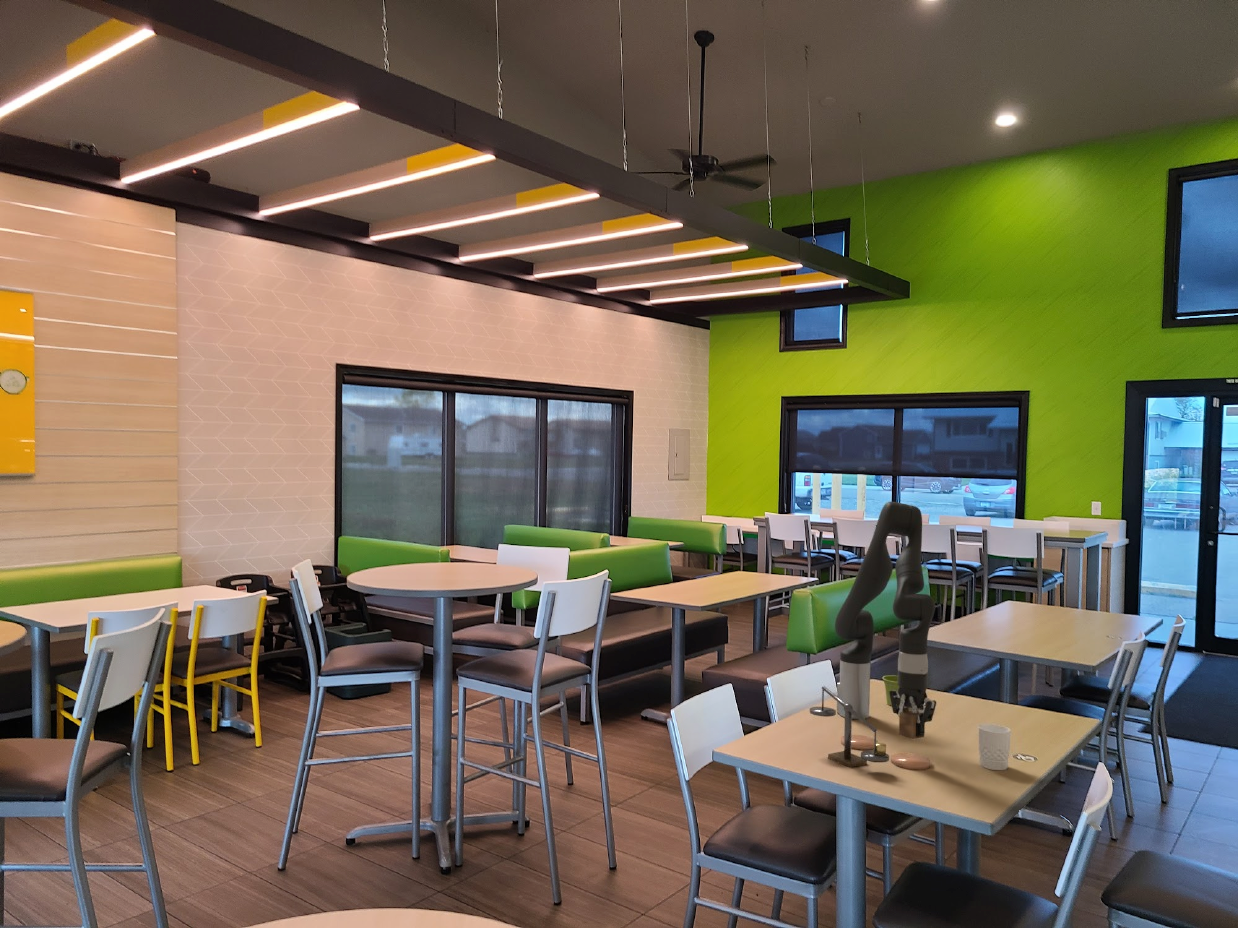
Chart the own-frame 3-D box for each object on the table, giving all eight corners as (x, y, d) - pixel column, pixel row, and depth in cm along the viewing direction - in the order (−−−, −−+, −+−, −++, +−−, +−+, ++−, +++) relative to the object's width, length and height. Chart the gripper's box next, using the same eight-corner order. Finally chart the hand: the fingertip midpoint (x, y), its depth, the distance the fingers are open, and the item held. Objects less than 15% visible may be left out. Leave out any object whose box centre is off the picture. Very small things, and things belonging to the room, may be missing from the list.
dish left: (833, 741, 248) (833, 737, 248) (858, 736, 253) (858, 732, 253) (860, 751, 240) (860, 747, 240) (885, 746, 245) (885, 742, 245)
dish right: (882, 760, 233) (882, 755, 233) (908, 754, 238) (908, 750, 238) (913, 771, 224) (913, 767, 224) (938, 765, 230) (938, 761, 230)
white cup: (993, 760, 235) (994, 722, 236) (1016, 769, 228) (1017, 731, 228) (970, 762, 233) (971, 725, 233) (993, 772, 225) (994, 733, 225)
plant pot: (916, 708, 287) (917, 681, 287) (889, 708, 286) (890, 682, 286) (903, 700, 296) (904, 675, 296) (877, 701, 295) (877, 675, 295)
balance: (803, 749, 241) (804, 684, 241) (822, 745, 244) (823, 681, 245) (875, 778, 219) (876, 706, 219) (894, 773, 222) (896, 703, 223)
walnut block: (899, 734, 232) (899, 712, 232) (910, 732, 234) (910, 709, 234) (912, 739, 228) (913, 716, 228) (924, 736, 231) (924, 714, 231)
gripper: (881, 665, 236) (880, 728, 235) (925, 676, 223) (924, 743, 223) (901, 662, 240) (899, 725, 239) (944, 673, 227) (943, 739, 227)
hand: (911, 733), depth 231 cm, fingers closed on walnut block, 4 cm apart
